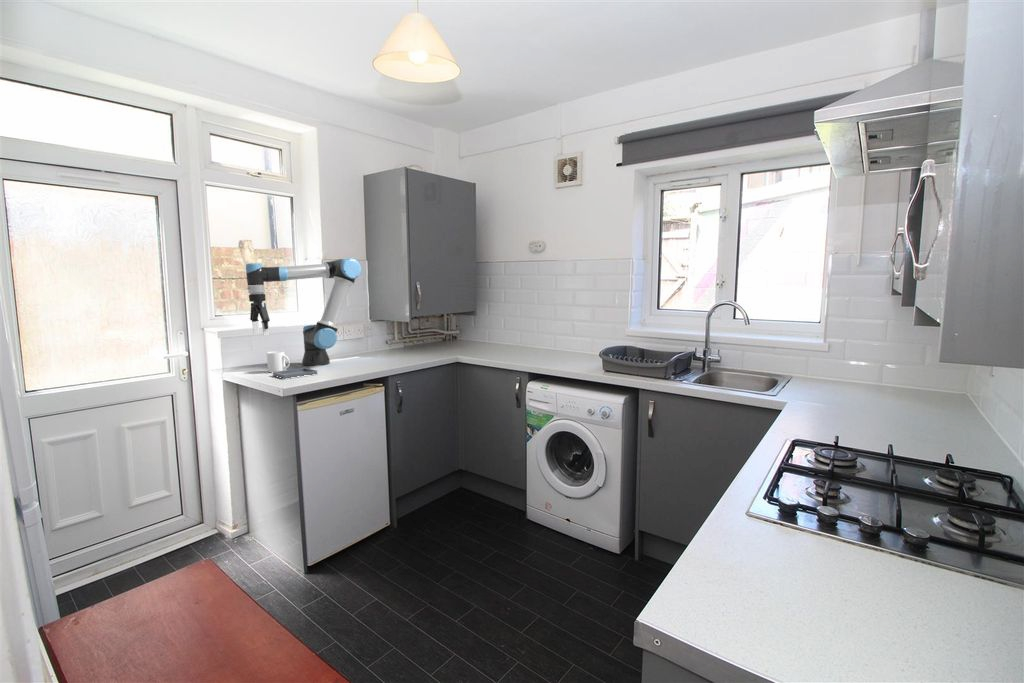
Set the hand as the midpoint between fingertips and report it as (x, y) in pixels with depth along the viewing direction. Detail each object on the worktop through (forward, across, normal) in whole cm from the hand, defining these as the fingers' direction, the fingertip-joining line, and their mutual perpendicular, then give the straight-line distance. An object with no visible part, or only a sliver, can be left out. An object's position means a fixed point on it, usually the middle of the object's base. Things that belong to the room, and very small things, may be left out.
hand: (261, 334), depth 249 cm
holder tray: (+21, +16, +8) cm, 28 cm away
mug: (+21, -2, +8) cm, 23 cm away
